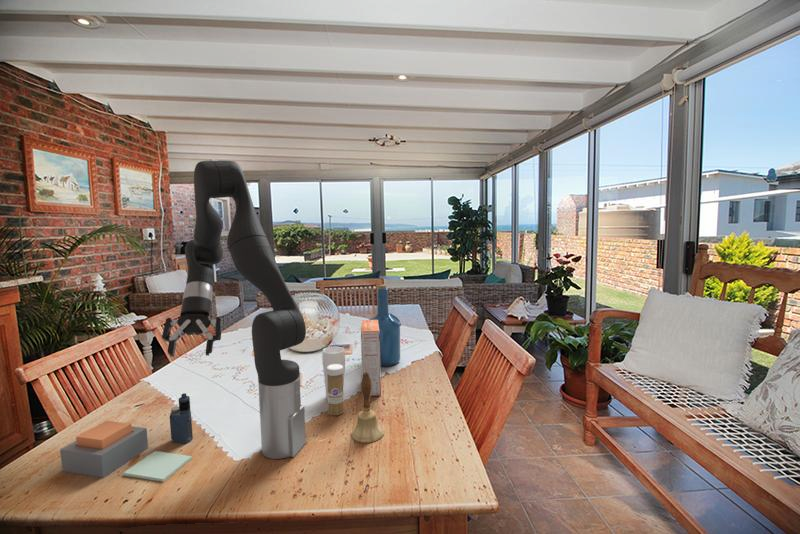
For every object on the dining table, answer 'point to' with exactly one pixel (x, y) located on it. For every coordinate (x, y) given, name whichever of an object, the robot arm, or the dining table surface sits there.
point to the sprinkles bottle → (335, 389)
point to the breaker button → (104, 435)
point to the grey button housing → (103, 455)
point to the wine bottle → (387, 330)
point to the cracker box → (371, 354)
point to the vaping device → (181, 421)
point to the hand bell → (366, 417)
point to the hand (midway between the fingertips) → (189, 355)
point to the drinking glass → (333, 361)
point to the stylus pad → (158, 466)
